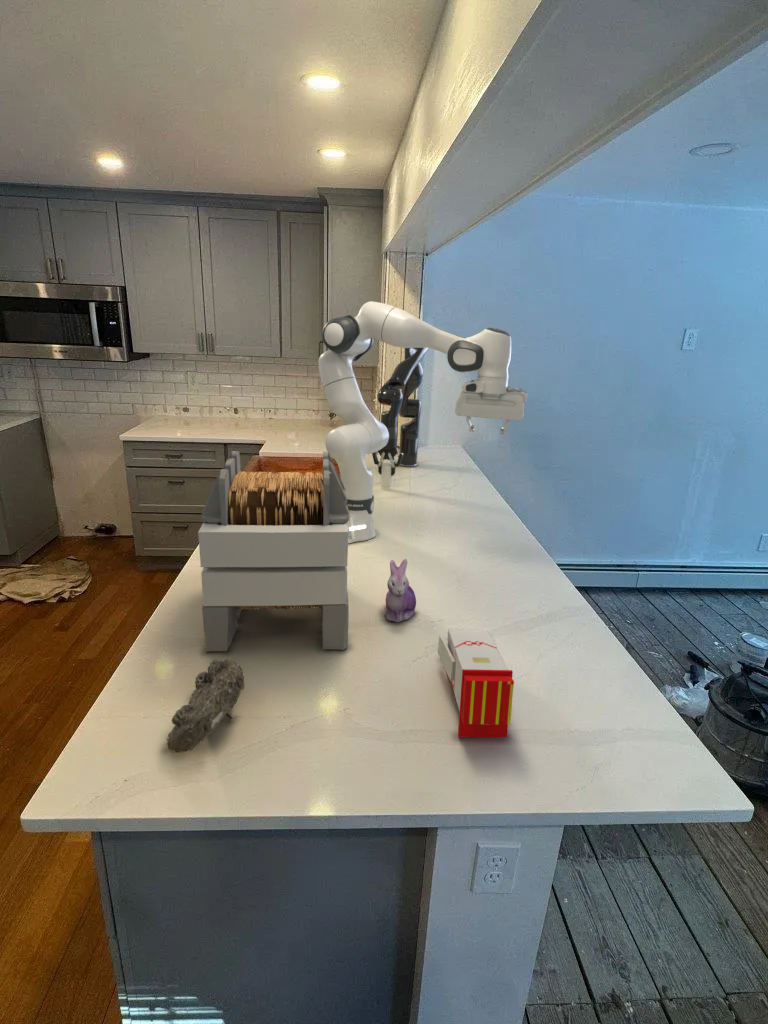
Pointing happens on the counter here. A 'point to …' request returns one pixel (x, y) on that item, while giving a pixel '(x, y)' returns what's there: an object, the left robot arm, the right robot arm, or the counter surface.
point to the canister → (386, 475)
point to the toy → (478, 682)
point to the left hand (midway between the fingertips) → (486, 432)
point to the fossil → (206, 705)
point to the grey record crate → (274, 549)
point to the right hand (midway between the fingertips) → (386, 474)
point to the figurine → (399, 594)
